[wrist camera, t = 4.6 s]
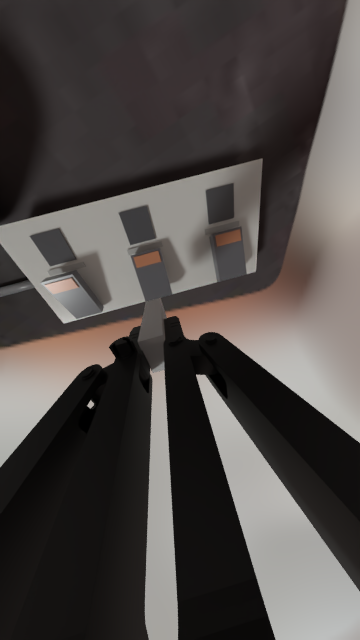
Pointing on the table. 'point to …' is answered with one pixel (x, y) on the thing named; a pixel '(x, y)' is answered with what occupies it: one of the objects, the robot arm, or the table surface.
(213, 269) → the power strip
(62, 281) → the rocker
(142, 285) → the rocker
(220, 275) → the rocker
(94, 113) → the table surface
